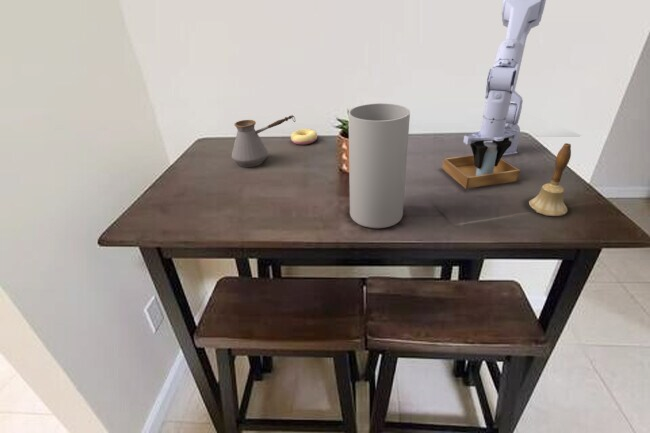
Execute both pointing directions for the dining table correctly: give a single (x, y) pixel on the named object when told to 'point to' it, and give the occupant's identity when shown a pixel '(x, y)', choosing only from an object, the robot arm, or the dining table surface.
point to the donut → (304, 136)
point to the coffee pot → (251, 143)
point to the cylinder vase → (377, 163)
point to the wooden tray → (466, 175)
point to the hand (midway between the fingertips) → (485, 165)
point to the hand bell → (553, 188)
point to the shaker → (488, 159)
